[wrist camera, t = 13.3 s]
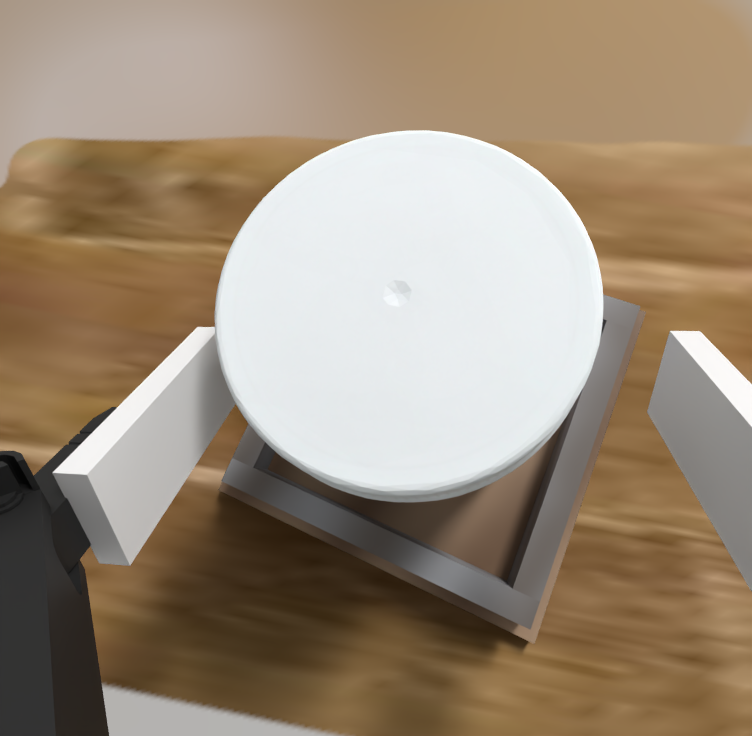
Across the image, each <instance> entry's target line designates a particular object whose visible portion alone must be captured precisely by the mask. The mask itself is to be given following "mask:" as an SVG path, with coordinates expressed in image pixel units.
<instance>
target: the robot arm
mask: <svg viewBox="0 0 752 736" xmlns="http://www.w3.org/2000/svg"><path fill="white" fill-rule="evenodd" d="M235 404H236V403H235V401H234V399H233V397H232V395H231V393H230V390H229V388H228V386H227V383H226V381H225V378H224V375H223V372H222V370H221V366H220V362H219V357H218V352H217V346H216V339H215V327H197V328H196V329H195V330H194V331H193V332H192V333H191V334H190V335H189V336H188V337H187V338H186V339H185V340H184V341H183V342H182V343H181V344H180V345H179V346H178V347H177V348H176V349H175V350H174V351H173V352H172V353H171V354H170V355H169V356H168V357H167V358H166V359H165V360H164V361H163V362H162V363H161V364H160V365H159V366H158V367H157V368H156V369H155V370H154V371H153V372H152V373H151V374H150V375H149V376H148V377H147V378H146V379H145V380H144V381H143V382H142V383H141V384H140V385H139V386H138V387H137V388H136V389H135V390H134V391H133V392H132V393H131V394H130V395H129V396H128V397H127V398H126V399H125V400H124V401H123V402H122V403H121V404H120V405H119V406H118V407H112V408H110V409H108V410H107V411H105V412H103V413H102V414H100V415H98V416H96V417H95V418H93V419H92V420H91V421H90V422H89V423H88V424H87V425H86V426H85V427H84V428H83V429H82V430H81V431H80V434H77V435H76V436H75V437H74V438H73V439H71V440H70V441H69V445H65V446H64V447H63V448H62V449H61V450H60V451H59V452H58V453H57V454H56V455H55V456H54V457H53V458H52V459H51V460H50V461H49V462H48V463H47V464H46V465H45V466H44V467H42V468H41V469H40V470H39V471H38V472H37V473H36V474H35V475H34V476H33V474H32V472H31V470H30V468H29V467H28V465H27V463H26V461H25V459H24V458H23V456H22V454H21V453H18V452H15V451H0V736H109V732H108V726H107V718H106V712H105V705H104V698H103V691H102V684H101V677H100V670H99V663H98V656H97V650H96V643H95V636H94V629H93V622H92V615H91V608H90V601H89V595H88V588H87V581H86V574H85V569H84V567H83V565H82V563H81V561H80V558H81V557H82V556H83V554H84V553H85V552H86V550H87V549H88V548H89V546H91V548H92V550H93V552H94V554H95V556H96V558H97V560H98V562H99V563H104V564H116V565H128V566H130V565H131V563H132V562H133V560H134V559H135V557H136V556H137V554H138V553H139V551H140V550H141V548H142V547H143V545H144V543H145V542H146V540H147V539H148V537H149V536H150V534H151V533H152V531H153V530H154V528H155V527H156V525H157V523H158V522H159V520H160V519H161V517H162V516H163V514H164V513H165V511H166V510H167V508H168V507H169V505H170V504H171V502H172V500H173V499H174V497H175V496H176V494H177V493H178V491H179V490H180V488H181V487H182V485H183V484H184V482H185V480H186V479H187V477H188V476H189V474H190V473H191V471H192V470H193V468H194V467H195V465H196V464H197V462H198V460H199V459H200V457H201V456H202V454H203V453H204V451H205V450H206V448H207V447H208V445H209V444H210V442H211V441H212V439H213V437H214V436H215V434H216V433H217V431H218V430H219V428H220V427H221V425H222V424H223V422H224V421H225V419H226V417H227V416H228V414H229V413H230V411H231V410H232V408H233V407H234V405H235ZM647 413H648V414H649V416H650V418H651V419H652V421H653V423H654V425H655V426H656V428H657V430H658V431H659V433H660V435H661V437H662V438H663V440H664V442H665V444H666V445H667V447H668V449H669V450H670V452H671V454H672V456H673V457H674V459H675V461H676V462H677V464H678V466H679V468H680V469H681V471H682V473H683V474H684V476H685V478H686V480H687V481H688V483H689V485H690V487H691V488H692V490H693V492H694V493H695V495H696V497H697V499H698V500H699V502H700V504H701V505H702V507H703V509H704V511H705V512H706V514H707V516H708V517H709V519H710V521H711V523H712V524H713V526H714V528H715V530H716V531H717V533H718V535H719V536H720V538H721V540H722V542H723V543H724V545H725V547H726V548H727V550H728V552H729V554H730V555H731V557H732V559H733V560H734V562H735V564H736V566H737V567H738V569H739V571H740V573H741V574H742V576H743V578H744V579H745V581H746V583H747V585H748V586H749V588H750V590H751V591H752V384H751V383H750V382H749V381H748V380H747V379H746V378H745V377H744V376H743V375H742V374H741V373H740V372H739V371H738V370H737V369H736V368H735V367H734V366H733V365H732V364H731V363H730V362H729V361H728V360H727V359H726V358H725V357H724V356H723V355H722V354H721V352H720V351H719V350H718V349H717V348H716V347H715V346H714V345H713V344H712V343H711V342H710V341H709V340H708V339H707V338H706V337H705V336H704V335H703V334H702V333H701V332H700V331H670V333H669V336H668V340H667V343H666V347H665V350H664V354H663V358H662V361H661V365H660V368H659V372H658V375H657V379H656V383H655V386H654V390H653V393H652V397H651V401H650V404H649V408H648V411H647Z"/></svg>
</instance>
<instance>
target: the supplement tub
mask: <svg viewBox="0 0 752 736" xmlns="http://www.w3.org/2000/svg"><path fill="white" fill-rule="evenodd" d="M602 322H603V287H602V281H601V274H600V269H599V265H598V261H597V256H596V254H595V251H594V248H593V245H592V242H591V240H590V238H589V236H588V234H587V231H586V229H585V227H584V225H583V223H582V221H581V219H580V218H579V217H578V215H577V214H576V212H575V211H574V209H573V208H572V206H571V205H570V203H569V202H568V201H567V200H566V198H565V197H564V196H563V195H562V194H561V192H560V191H559V190H558V189H557V188H556V187H555V186H554V185H553V184H552V183H551V182H550V181H548V180H547V179H546V178H545V177H544V176H543V175H542V174H541V173H540V172H539V171H537V170H536V169H535V168H533V167H532V166H530V165H529V164H527V163H526V162H524V161H523V160H522V159H520V158H518V157H516V156H515V155H513V154H511V153H509V152H507V151H505V150H503V149H501V148H499V147H497V146H494V145H491V144H489V143H486V142H483V141H480V140H477V139H474V138H470V137H466V136H462V135H457V134H452V133H446V132H436V131H399V132H391V133H385V134H378V135H373V136H368V137H364V138H361V139H357V140H354V141H351V142H348V143H345V144H343V145H341V146H338V147H336V148H333V149H331V150H329V151H327V152H325V153H322V154H320V155H318V156H317V157H315V158H313V159H311V160H310V161H308V162H306V163H305V164H303V165H302V166H300V167H299V168H298V169H296V170H295V171H293V172H292V173H290V174H289V175H288V176H287V177H286V178H284V179H283V180H282V181H281V182H280V183H278V184H277V185H276V186H275V187H274V188H273V189H272V190H271V191H270V192H269V193H268V194H267V195H266V196H265V197H264V198H263V199H262V201H261V202H260V203H259V204H258V206H257V207H256V208H255V209H254V210H253V212H252V213H251V214H250V216H249V217H248V219H247V220H246V222H245V223H244V225H243V226H242V228H241V230H240V231H239V233H238V235H237V236H236V238H235V240H234V242H233V244H232V246H231V248H230V250H229V253H228V255H227V258H226V261H225V264H224V267H223V269H222V273H221V277H220V281H219V285H218V290H217V296H216V305H215V339H216V346H217V352H218V357H219V362H220V366H221V370H222V372H223V375H224V378H225V381H226V383H227V386H228V388H229V390H230V393H231V395H232V397H233V399H234V401H235V403H236V405H237V407H238V408H239V410H240V411H241V413H242V414H243V416H244V417H245V419H246V421H247V422H248V423H249V424H250V426H251V427H252V428H253V429H254V430H255V432H256V433H257V434H258V435H259V436H260V437H261V438H262V439H263V440H264V441H265V442H266V443H267V444H268V445H269V446H270V447H271V448H272V449H273V450H274V451H275V452H277V453H278V454H279V455H280V456H281V457H282V458H284V459H285V460H287V461H288V462H290V463H291V464H293V465H294V466H296V467H297V468H299V469H300V470H302V471H304V472H306V473H307V474H309V475H311V476H312V477H314V478H316V479H317V480H319V481H321V482H323V483H325V484H327V485H329V486H331V487H333V488H336V489H339V490H341V491H344V492H347V493H350V494H353V495H357V496H360V497H364V498H367V499H374V500H380V501H389V502H427V501H438V500H443V499H448V498H453V497H458V496H461V495H464V494H467V493H470V492H472V491H475V490H478V489H480V488H482V487H485V486H487V485H489V484H491V483H493V482H495V481H497V480H499V479H500V478H502V477H504V476H506V475H507V474H509V473H511V472H512V471H514V470H515V469H516V468H518V467H519V466H521V465H522V464H523V463H525V462H526V461H527V460H528V459H529V458H530V457H532V456H533V455H534V454H535V453H536V452H537V451H538V450H539V449H540V448H541V447H542V446H543V445H544V444H545V443H546V442H547V441H548V440H549V439H550V438H551V436H552V435H553V434H554V433H555V431H556V430H557V429H558V428H559V427H560V425H561V424H562V422H563V421H564V419H565V418H566V417H567V415H568V413H569V412H570V410H571V408H572V406H573V405H574V403H575V401H576V399H577V398H578V396H579V394H580V392H581V391H582V389H583V387H584V386H585V383H586V381H587V379H588V377H589V374H590V372H591V370H592V366H593V363H594V360H595V357H596V354H597V350H598V347H599V344H600V338H601V331H602Z"/></svg>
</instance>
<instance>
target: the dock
mask: <svg viewBox="0 0 752 736" xmlns="http://www.w3.org/2000/svg"><path fill="white" fill-rule="evenodd" d="M639 309H640V306H638V305H634V304H631V303H628V302H625V301H622V300H619V299H616V298H612V297H609V296H606V295H603V322H602V331H601V338H600V344H599V347H598V350H597V354H596V357H595V360H594V363H593V366H592V370H591V372H590V374H589V377H588V379H587V381H586V383H585V386H584V387H583V389H582V391H581V392H580V394H579V396H578V398H577V399H576V401H575V403H574V405H573V406H572V408H571V410H570V412H569V413H568V415H567V417H566V418H565V419H564V421H563V422H562V424H561V425H560V427H559V428H558V429H557V430H556V431H555V433H554V434H553V435H552V436H551V438H550V439H549V440H548V441H547V442H546V443H545V444H544V445H543V446H542V447H541V448H540V449H539V450H538V451H537V452H536V453H535V454H534V455H533V456H532V457H530V458H529V459H528V460H527V461H526V462H525V463H523V464H522V465H521V466H519V467H518V468H516V469H515V470H514V471H512V472H511V473H509V474H507V475H506V476H504V477H502V478H500V479H499V480H497V481H495V482H493V483H491V484H489V485H487V486H485V487H482V488H480V489H478V490H475V491H472V492H470V493H467V494H464V495H461V496H458V497H453V498H448V499H443V500H438V501H427V502H389V501H380V500H374V499H367V498H364V497H360V496H357V495H353V494H350V493H347V492H344V491H341V490H339V489H336V488H333V487H331V486H329V485H327V484H325V483H323V482H321V481H319V480H317V479H316V478H314V477H312V476H311V475H309V474H307V473H306V472H304V471H302V470H300V469H299V468H297V467H296V466H294V465H293V464H291V463H290V462H288V461H287V460H285V459H284V458H282V457H281V456H280V455H279V454H278V453H277V452H275V451H274V450H273V449H272V448H271V447H270V446H269V445H268V444H267V443H266V442H265V441H264V440H263V439H262V438H261V437H260V436H259V435H258V434H257V433H256V432H255V430H254V429H253V428H252V427H251V426H250V424H248V426H247V428H246V430H245V432H244V435H243V437H242V439H241V441H240V443H239V445H238V447H237V449H236V451H235V453H234V456H233V458H232V460H231V462H230V464H229V466H228V468H227V470H226V472H225V474H224V477H223V479H222V483H221V486H220V488H219V491H221V492H223V493H225V494H227V495H229V496H231V497H233V498H236V499H238V500H240V501H242V502H244V503H246V504H248V505H250V506H252V507H254V508H256V509H258V510H260V511H262V512H264V513H266V514H268V515H270V516H272V517H275V518H277V519H279V520H281V521H283V522H285V523H287V524H289V525H291V526H293V527H295V528H297V529H299V530H301V531H303V532H305V533H307V534H309V535H312V536H314V537H316V538H318V539H320V540H322V541H324V542H326V543H328V544H330V545H332V546H334V547H336V548H338V549H340V550H342V551H344V552H346V553H348V554H351V555H353V556H355V557H357V558H359V559H361V560H363V561H365V562H367V563H369V564H371V565H373V566H375V567H377V568H379V569H381V570H383V571H385V572H387V573H390V574H392V575H394V576H396V577H398V578H400V579H402V580H404V581H406V582H408V583H410V584H412V585H414V586H416V587H418V588H420V589H422V590H424V591H426V592H429V593H431V594H433V595H435V596H437V597H439V598H441V599H443V600H445V601H447V602H449V603H451V604H453V605H455V606H457V607H459V608H461V609H463V610H465V611H468V612H470V613H472V614H474V615H476V616H478V617H480V618H482V619H484V620H486V621H488V622H490V623H492V624H494V625H496V626H498V627H500V628H502V629H504V630H507V631H509V632H511V633H513V634H515V635H517V636H519V637H521V638H523V639H525V640H527V641H529V642H531V643H533V644H535V641H536V638H537V635H538V632H539V629H540V626H541V623H542V620H543V617H544V614H545V611H546V608H547V605H548V602H549V599H550V596H551V593H552V590H553V587H554V584H555V581H556V578H557V575H558V572H559V569H560V566H561V563H562V560H563V557H564V554H565V551H566V548H567V545H568V542H569V540H570V537H571V534H572V531H573V528H574V525H575V522H576V519H577V516H578V513H579V510H580V507H581V504H582V501H583V498H584V495H585V492H586V489H587V486H588V483H589V480H590V477H591V474H592V471H593V468H594V465H595V462H596V459H597V456H598V453H599V450H600V447H601V444H602V441H603V438H604V435H605V433H606V430H607V427H608V424H609V421H610V418H611V415H612V412H613V409H614V406H615V403H616V400H617V397H618V394H619V391H620V388H621V385H622V382H623V379H624V376H625V373H626V370H627V367H628V364H629V361H630V358H631V355H632V352H633V349H634V346H635V343H636V340H637V337H638V334H639V331H640V328H641V326H642V323H643V320H644V317H645V314H646V312H644V311H641V310H639Z"/></svg>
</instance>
